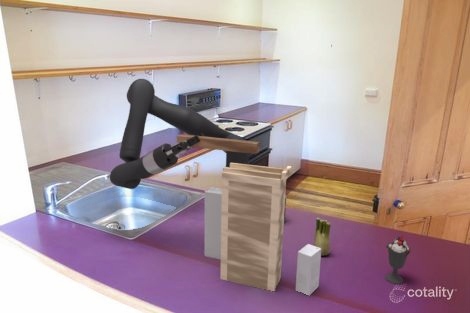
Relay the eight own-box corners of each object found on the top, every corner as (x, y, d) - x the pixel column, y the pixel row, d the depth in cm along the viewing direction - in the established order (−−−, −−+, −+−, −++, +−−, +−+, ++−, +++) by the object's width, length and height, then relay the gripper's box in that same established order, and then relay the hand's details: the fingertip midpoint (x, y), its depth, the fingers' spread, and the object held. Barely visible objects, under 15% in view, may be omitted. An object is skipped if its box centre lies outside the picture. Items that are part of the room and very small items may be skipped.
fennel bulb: (311, 249, 121) (314, 216, 118) (325, 249, 121) (328, 216, 118) (317, 258, 115) (319, 223, 112) (331, 257, 115) (335, 223, 113)
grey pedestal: (211, 249, 119) (211, 186, 114) (233, 253, 116) (234, 190, 111) (204, 256, 115) (204, 191, 110) (227, 261, 112) (228, 195, 107)
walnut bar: (181, 143, 114) (181, 134, 113) (259, 152, 105) (259, 142, 104) (177, 145, 111) (176, 135, 110) (255, 154, 102) (256, 143, 101)
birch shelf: (229, 267, 108) (231, 159, 101) (284, 279, 102) (291, 166, 95) (220, 278, 102) (221, 165, 94) (278, 293, 96) (285, 172, 88)
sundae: (395, 287, 100) (402, 239, 96) (377, 275, 106) (383, 229, 102) (412, 282, 102) (419, 235, 99) (393, 271, 108) (399, 225, 105)
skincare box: (305, 281, 102) (308, 243, 99) (318, 287, 99) (322, 248, 97) (294, 290, 97) (297, 251, 95) (308, 297, 95) (311, 256, 92)
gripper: (142, 153, 110) (184, 129, 102) (166, 145, 122) (205, 123, 115) (153, 174, 110) (196, 152, 103) (176, 164, 123) (216, 144, 115)
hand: (201, 137), depth 109 cm, fingers closed on walnut bar, 3 cm apart
